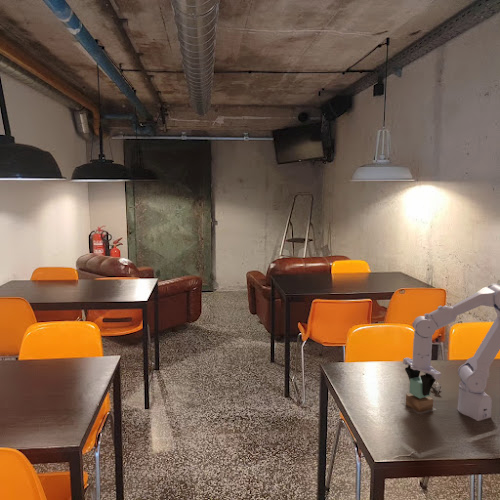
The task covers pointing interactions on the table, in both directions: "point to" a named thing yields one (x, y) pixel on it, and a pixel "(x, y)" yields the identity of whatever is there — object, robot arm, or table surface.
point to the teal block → (416, 387)
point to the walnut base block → (419, 402)
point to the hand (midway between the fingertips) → (419, 391)
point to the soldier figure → (436, 386)
